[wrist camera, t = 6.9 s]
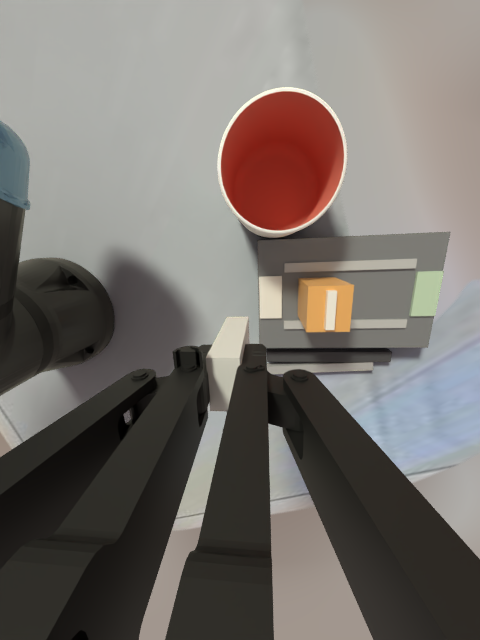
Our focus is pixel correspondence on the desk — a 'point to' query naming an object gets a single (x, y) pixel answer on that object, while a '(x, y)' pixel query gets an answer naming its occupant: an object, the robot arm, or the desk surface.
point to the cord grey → (319, 366)
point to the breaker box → (369, 288)
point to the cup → (282, 161)
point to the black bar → (329, 355)
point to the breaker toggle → (325, 304)
